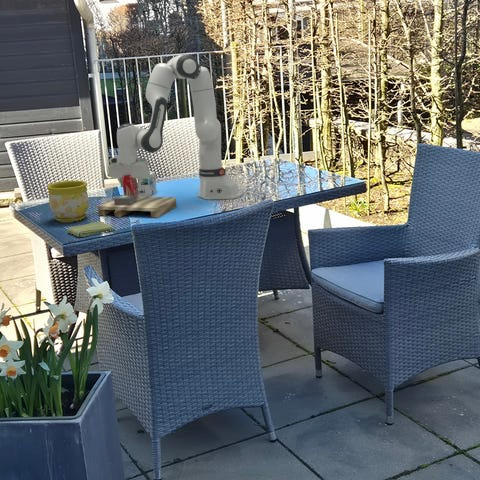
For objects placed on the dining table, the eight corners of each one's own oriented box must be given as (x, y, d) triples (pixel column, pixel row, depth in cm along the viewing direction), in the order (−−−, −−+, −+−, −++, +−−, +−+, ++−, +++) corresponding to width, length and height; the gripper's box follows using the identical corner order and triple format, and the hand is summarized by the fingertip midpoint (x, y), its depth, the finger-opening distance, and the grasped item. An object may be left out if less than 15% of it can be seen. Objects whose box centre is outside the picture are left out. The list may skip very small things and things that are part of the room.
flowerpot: (93, 213, 368) (89, 179, 363) (87, 222, 351) (83, 187, 346) (55, 215, 368) (51, 181, 363) (47, 225, 350) (43, 189, 346)
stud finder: (136, 201, 367) (136, 195, 366) (130, 205, 360) (129, 198, 359) (121, 201, 369) (120, 194, 368) (114, 204, 363) (113, 198, 362)
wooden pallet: (178, 205, 375) (177, 196, 374) (155, 218, 352) (154, 209, 350) (122, 203, 385) (121, 194, 384) (96, 216, 361) (95, 207, 360)
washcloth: (116, 231, 335) (116, 224, 334) (79, 239, 325) (78, 232, 324) (102, 226, 345) (101, 219, 344) (65, 234, 335) (64, 226, 334)
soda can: (124, 197, 377) (120, 173, 374) (139, 195, 378) (135, 171, 375) (124, 200, 370) (120, 175, 368) (139, 198, 371) (135, 173, 368)
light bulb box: (150, 196, 399) (149, 175, 396) (138, 196, 400) (136, 175, 398) (157, 191, 409) (155, 171, 406) (144, 191, 410) (143, 171, 408)
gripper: (151, 157, 369) (153, 186, 372) (112, 157, 375) (115, 185, 379) (145, 159, 363) (147, 188, 367) (106, 159, 369) (108, 188, 373)
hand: (130, 187), depth 373 cm, fingers open, 7 cm apart
